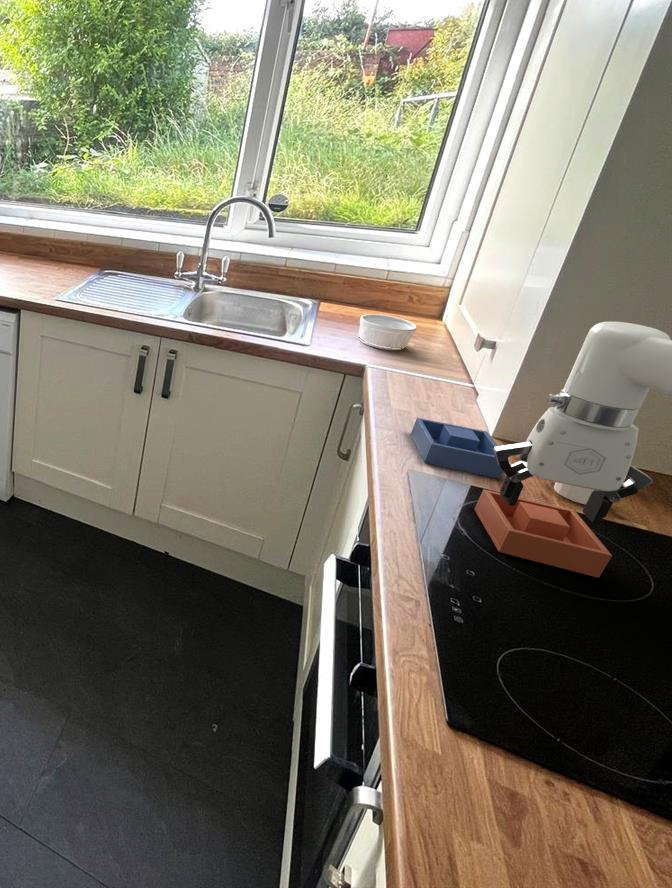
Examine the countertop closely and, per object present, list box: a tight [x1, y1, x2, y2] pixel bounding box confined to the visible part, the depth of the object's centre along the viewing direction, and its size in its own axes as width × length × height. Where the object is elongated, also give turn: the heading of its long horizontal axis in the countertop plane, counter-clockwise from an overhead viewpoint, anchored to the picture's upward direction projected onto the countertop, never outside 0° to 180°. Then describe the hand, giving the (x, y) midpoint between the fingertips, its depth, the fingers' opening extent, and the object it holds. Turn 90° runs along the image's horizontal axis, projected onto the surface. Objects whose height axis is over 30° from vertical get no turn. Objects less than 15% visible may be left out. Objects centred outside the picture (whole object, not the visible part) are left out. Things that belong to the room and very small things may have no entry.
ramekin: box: [358, 313, 417, 351], centre depth 167 cm, size 13×13×7 cm
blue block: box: [436, 425, 480, 452], centre depth 112 cm, size 4×4×4 cm
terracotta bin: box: [473, 489, 613, 579], centre depth 89 cm, size 11×11×4 cm
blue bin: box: [409, 417, 505, 480], centre depth 112 cm, size 11×11×4 cm
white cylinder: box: [553, 482, 598, 505], centre depth 101 cm, size 7×7×7 cm
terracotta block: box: [510, 502, 570, 541], centre depth 89 cm, size 4×4×4 cm
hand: (547, 509), depth 88 cm, fingers open, 9 cm apart
